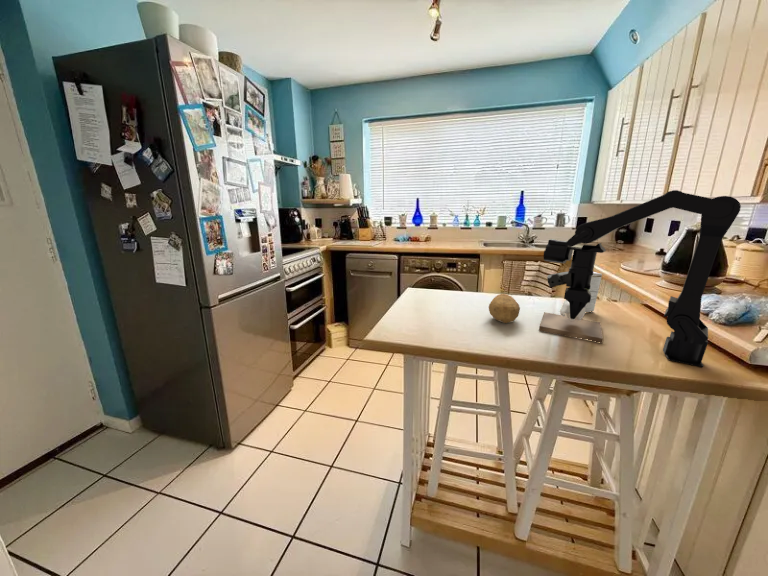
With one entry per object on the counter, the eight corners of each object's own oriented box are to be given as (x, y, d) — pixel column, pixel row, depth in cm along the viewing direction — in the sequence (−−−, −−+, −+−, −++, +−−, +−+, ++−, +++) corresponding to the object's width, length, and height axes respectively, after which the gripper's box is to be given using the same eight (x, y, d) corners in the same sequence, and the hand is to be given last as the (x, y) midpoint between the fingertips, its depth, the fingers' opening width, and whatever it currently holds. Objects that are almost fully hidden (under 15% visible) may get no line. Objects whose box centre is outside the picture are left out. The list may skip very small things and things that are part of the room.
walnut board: (599, 326, 97) (600, 322, 97) (601, 343, 86) (602, 338, 85) (543, 316, 105) (544, 312, 105) (538, 330, 94) (539, 325, 93)
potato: (487, 326, 96) (489, 302, 94) (487, 311, 109) (490, 290, 106) (520, 331, 93) (524, 306, 91) (517, 315, 106) (520, 293, 103)
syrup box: (568, 308, 113) (575, 270, 109) (580, 307, 114) (588, 269, 110) (581, 314, 107) (589, 274, 103) (594, 312, 109) (603, 273, 105)
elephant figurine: (553, 314, 98) (556, 297, 96) (578, 315, 98) (581, 297, 96) (564, 323, 91) (568, 304, 90) (591, 323, 91) (595, 304, 89)
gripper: (553, 258, 101) (546, 302, 106) (548, 268, 86) (540, 319, 90) (593, 261, 96) (584, 308, 100) (596, 273, 80) (584, 328, 85)
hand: (572, 315), depth 94 cm, fingers closed on elephant figurine, 6 cm apart
